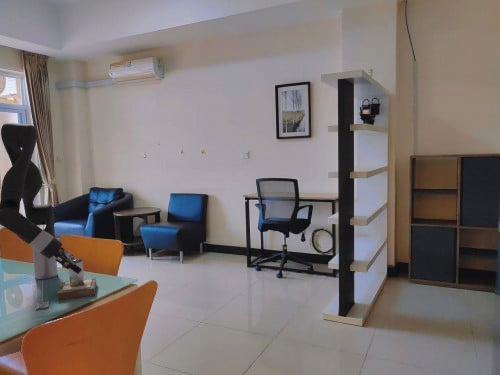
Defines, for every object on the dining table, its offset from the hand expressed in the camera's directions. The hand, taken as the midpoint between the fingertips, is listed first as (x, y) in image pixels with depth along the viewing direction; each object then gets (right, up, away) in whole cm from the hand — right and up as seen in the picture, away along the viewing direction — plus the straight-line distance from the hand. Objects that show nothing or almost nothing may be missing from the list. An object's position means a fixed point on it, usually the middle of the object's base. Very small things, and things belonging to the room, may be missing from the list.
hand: (80, 268), depth 152 cm
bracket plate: (-8, -12, -13) cm, 19 cm away
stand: (-1, -10, 0) cm, 10 cm away
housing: (-1, -6, 0) cm, 6 cm away
